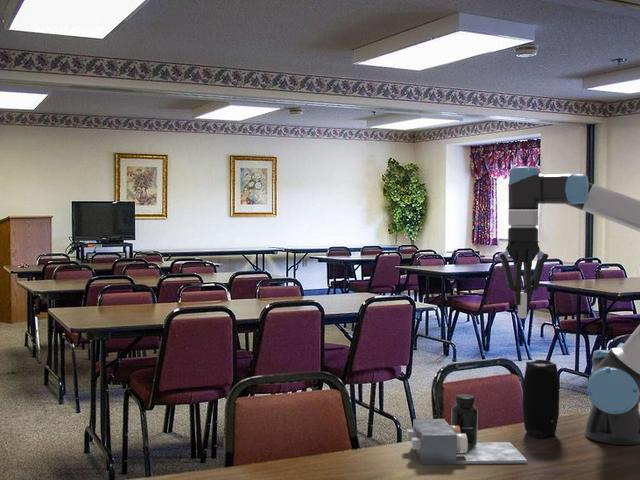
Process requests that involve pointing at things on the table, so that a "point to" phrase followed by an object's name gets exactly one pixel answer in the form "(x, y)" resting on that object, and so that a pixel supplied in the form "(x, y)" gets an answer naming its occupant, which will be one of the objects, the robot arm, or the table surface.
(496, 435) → the table surface
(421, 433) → the mount
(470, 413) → the supplement bottle
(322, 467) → the table surface
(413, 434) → the knob terracotta
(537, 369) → the portable speaker
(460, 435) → the knob cream
